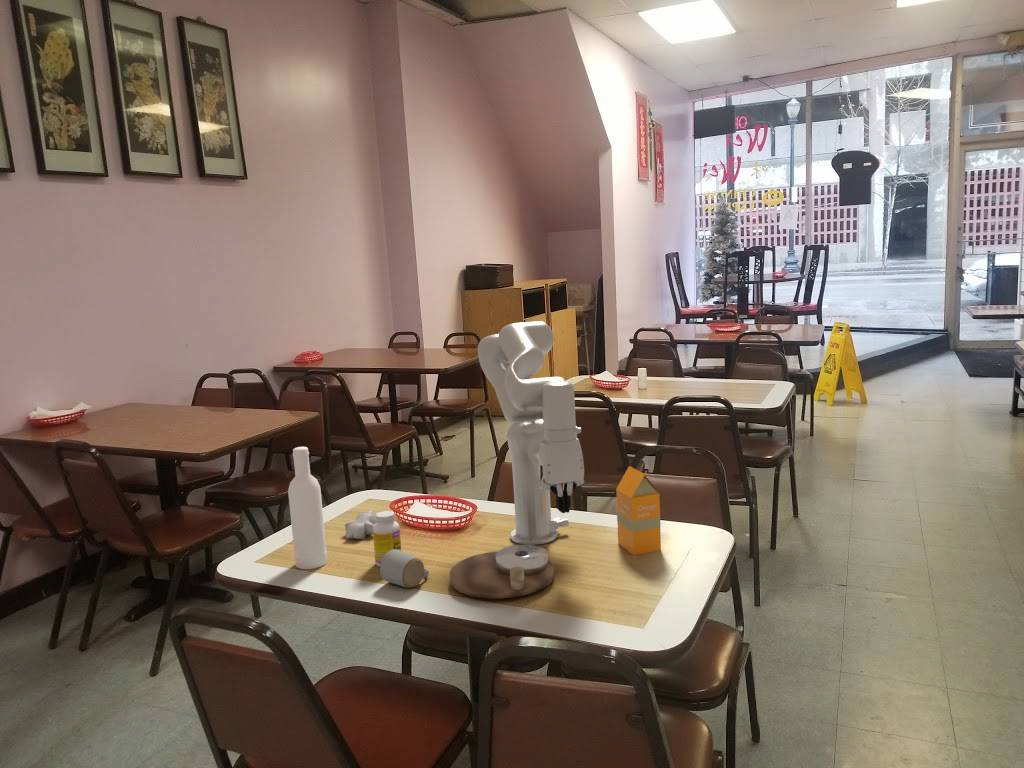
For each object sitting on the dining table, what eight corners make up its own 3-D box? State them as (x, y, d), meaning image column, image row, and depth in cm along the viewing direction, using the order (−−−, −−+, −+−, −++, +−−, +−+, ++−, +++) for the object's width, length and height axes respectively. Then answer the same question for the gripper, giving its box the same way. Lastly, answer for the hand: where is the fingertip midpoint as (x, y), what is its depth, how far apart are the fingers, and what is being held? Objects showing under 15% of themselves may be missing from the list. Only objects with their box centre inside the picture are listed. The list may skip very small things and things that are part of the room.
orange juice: (644, 538, 201) (642, 463, 198) (661, 550, 192) (659, 472, 189) (617, 543, 198) (614, 467, 195) (633, 555, 190) (630, 476, 187)
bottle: (333, 562, 196) (323, 446, 191) (306, 572, 190) (294, 453, 185) (316, 555, 201) (305, 443, 196) (289, 565, 195) (277, 449, 191)
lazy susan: (531, 550, 194) (530, 529, 193) (571, 585, 172) (570, 562, 171) (438, 567, 186) (437, 545, 185) (467, 607, 164) (465, 582, 163)
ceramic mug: (405, 594, 174) (403, 561, 173) (380, 586, 179) (378, 554, 178) (437, 578, 183) (435, 547, 182) (412, 571, 188) (411, 540, 187)
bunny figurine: (335, 526, 211) (363, 503, 225) (338, 543, 212) (366, 519, 226) (366, 529, 208) (392, 505, 221) (368, 546, 209) (394, 522, 223)
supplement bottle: (396, 568, 189) (392, 518, 187) (371, 568, 191) (367, 518, 189) (406, 558, 196) (402, 509, 194) (381, 557, 197) (377, 509, 195)
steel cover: (536, 553, 188) (535, 540, 187) (555, 570, 177) (555, 557, 176) (489, 562, 184) (488, 549, 183) (506, 580, 173) (505, 566, 172)
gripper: (582, 428, 185) (585, 502, 188) (524, 436, 180) (528, 512, 183) (596, 433, 178) (599, 510, 181) (536, 441, 173) (540, 520, 176)
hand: (563, 511), depth 182 cm, fingers closed
